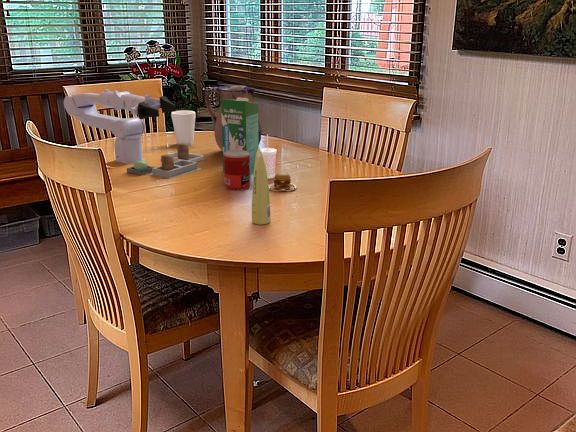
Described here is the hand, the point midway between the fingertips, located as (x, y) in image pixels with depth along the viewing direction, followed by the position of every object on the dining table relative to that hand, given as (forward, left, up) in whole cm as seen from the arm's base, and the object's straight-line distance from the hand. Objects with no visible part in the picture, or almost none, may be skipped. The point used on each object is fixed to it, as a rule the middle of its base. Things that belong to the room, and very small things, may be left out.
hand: (166, 110), depth 190 cm
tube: (+54, -23, -21) cm, 62 cm away
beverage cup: (+31, +13, -21) cm, 40 cm away
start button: (-5, -9, -19) cm, 22 cm away
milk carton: (+20, +13, -21) cm, 32 cm away
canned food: (+30, -2, -21) cm, 37 cm away
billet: (-5, +11, -20) cm, 23 cm away
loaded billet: (+4, -6, -20) cm, 21 cm away
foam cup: (-24, +33, -21) cm, 46 cm away
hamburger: (+42, +5, -21) cm, 48 cm away
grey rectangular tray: (+4, -2, -21) cm, 21 cm away
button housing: (-5, -9, -21) cm, 23 cm away
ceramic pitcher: (+2, +32, -21) cm, 38 cm away
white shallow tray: (-5, +11, -21) cm, 24 cm away
